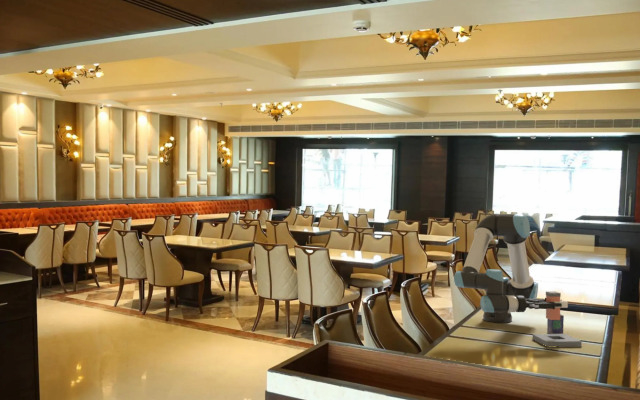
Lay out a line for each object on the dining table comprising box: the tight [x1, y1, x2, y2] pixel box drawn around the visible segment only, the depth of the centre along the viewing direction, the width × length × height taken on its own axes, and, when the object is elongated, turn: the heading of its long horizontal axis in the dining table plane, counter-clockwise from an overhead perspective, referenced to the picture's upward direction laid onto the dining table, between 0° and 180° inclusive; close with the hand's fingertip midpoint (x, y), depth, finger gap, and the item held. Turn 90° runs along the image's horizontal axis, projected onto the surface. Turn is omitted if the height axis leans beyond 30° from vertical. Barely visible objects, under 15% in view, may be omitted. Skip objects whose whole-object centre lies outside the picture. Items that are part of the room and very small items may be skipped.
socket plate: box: [532, 333, 583, 348], centre depth 256 cm, size 14×16×2 cm
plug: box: [545, 290, 562, 320], centre depth 256 cm, size 5×5×12 cm
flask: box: [546, 313, 565, 334], centre depth 274 cm, size 9×3×11 cm, turn 109°
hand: (564, 303), depth 256 cm, fingers closed on plug, 4 cm apart
